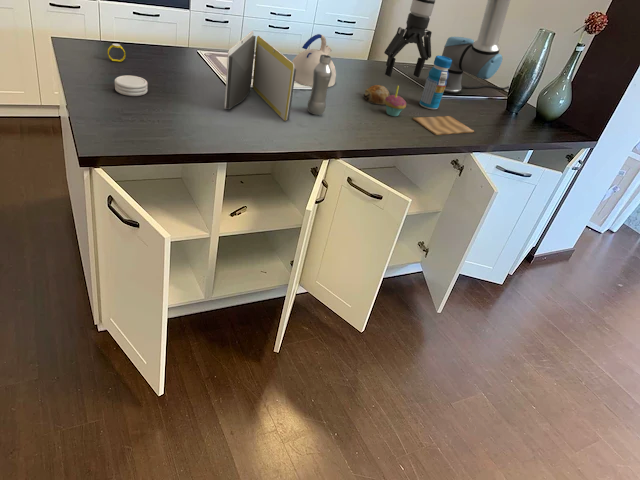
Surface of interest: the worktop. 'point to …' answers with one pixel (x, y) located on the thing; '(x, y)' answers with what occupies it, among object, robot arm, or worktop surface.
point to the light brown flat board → (443, 125)
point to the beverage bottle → (436, 83)
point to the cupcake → (394, 104)
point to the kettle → (311, 62)
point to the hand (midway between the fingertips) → (402, 76)
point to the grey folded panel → (259, 75)
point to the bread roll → (376, 94)
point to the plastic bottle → (320, 86)
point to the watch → (116, 47)
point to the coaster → (131, 85)
